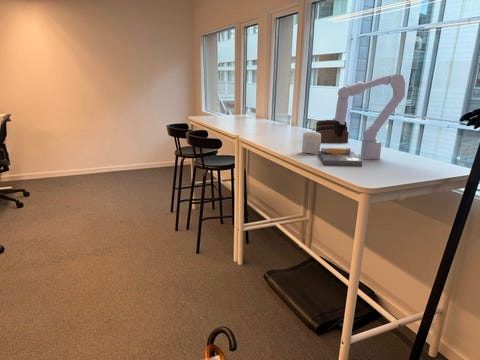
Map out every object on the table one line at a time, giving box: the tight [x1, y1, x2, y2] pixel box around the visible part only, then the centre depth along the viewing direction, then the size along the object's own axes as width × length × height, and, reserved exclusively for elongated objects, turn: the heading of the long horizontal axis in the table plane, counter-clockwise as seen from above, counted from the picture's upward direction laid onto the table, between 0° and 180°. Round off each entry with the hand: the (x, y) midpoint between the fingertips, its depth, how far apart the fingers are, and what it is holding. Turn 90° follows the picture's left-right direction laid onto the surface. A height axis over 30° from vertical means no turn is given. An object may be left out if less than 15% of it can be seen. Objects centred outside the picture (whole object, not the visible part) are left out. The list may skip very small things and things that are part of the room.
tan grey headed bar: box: [320, 147, 352, 153], centre depth 178 cm, size 15×4×2 cm, turn 84°
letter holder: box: [315, 119, 350, 144], centre depth 223 cm, size 10×20×14 cm, turn 85°
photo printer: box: [301, 130, 322, 155], centre depth 188 cm, size 10×4×12 cm, turn 56°
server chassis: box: [317, 150, 363, 167], centre depth 173 cm, size 18×22×3 cm
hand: (337, 135), depth 183 cm, fingers open, 7 cm apart
